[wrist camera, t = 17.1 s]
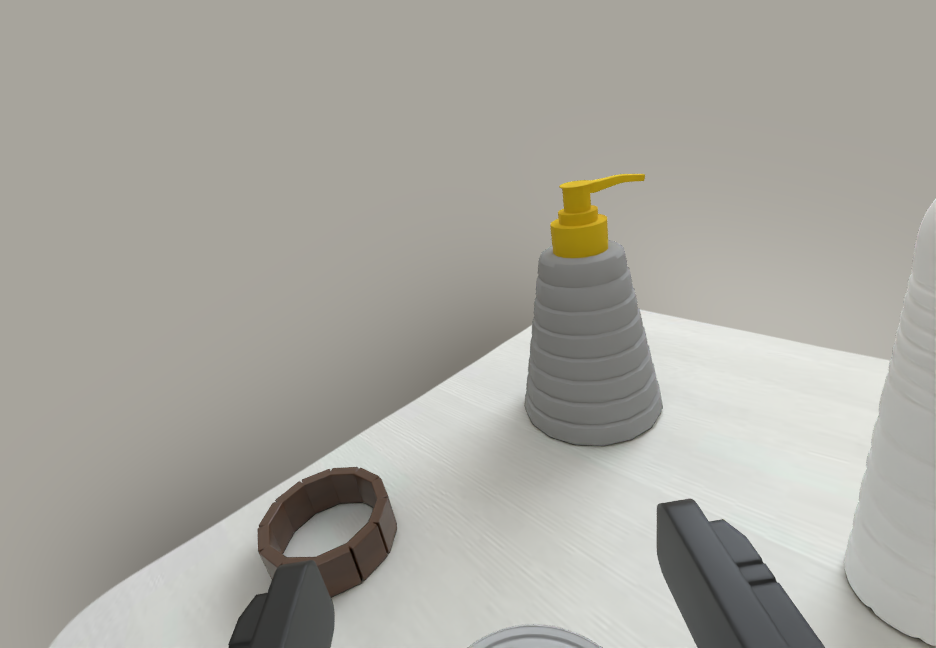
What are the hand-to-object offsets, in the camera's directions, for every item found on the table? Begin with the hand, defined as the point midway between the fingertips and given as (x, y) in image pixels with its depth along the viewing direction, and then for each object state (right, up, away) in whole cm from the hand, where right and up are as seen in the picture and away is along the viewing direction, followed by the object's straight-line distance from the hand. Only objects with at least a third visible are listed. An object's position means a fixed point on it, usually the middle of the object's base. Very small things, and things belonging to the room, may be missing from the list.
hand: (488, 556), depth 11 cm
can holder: (-10, -11, +24) cm, 28 cm away
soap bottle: (+11, -2, +34) cm, 36 cm away
